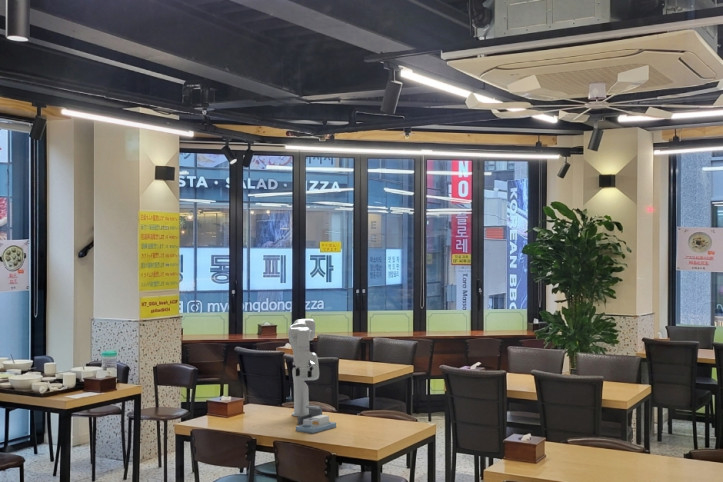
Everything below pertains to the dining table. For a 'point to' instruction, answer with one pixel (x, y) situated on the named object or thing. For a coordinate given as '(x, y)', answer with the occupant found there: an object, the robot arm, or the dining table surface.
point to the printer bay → (310, 413)
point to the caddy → (317, 421)
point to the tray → (314, 430)
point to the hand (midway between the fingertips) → (303, 376)
